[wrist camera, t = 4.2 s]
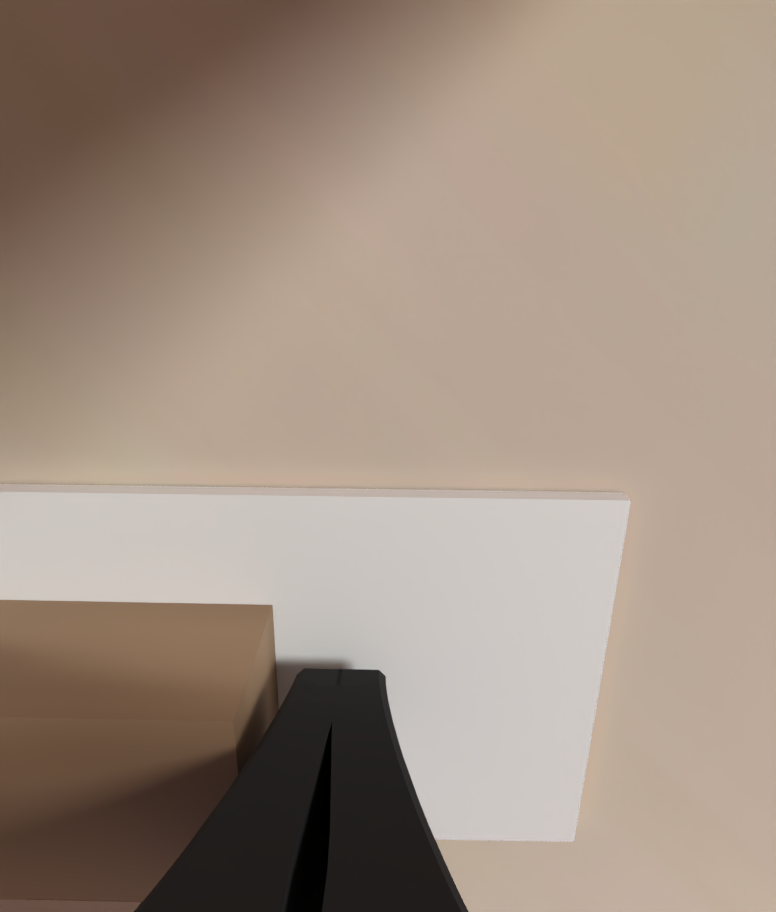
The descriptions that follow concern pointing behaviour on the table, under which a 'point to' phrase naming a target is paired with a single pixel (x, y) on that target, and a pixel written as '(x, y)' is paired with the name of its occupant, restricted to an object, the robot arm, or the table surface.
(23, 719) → the batten
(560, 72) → the table surface
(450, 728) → the white base with panel
